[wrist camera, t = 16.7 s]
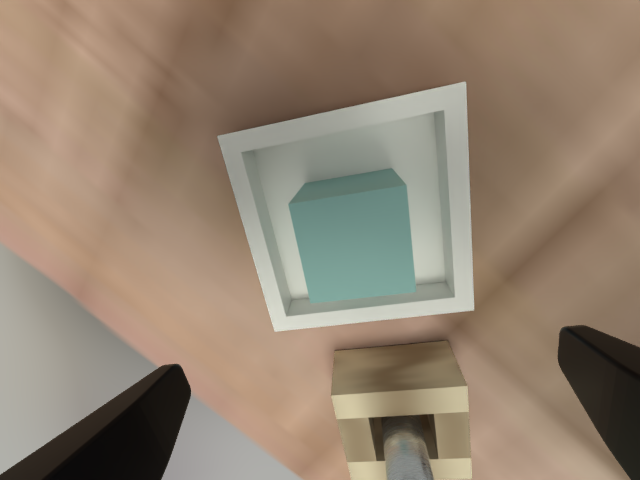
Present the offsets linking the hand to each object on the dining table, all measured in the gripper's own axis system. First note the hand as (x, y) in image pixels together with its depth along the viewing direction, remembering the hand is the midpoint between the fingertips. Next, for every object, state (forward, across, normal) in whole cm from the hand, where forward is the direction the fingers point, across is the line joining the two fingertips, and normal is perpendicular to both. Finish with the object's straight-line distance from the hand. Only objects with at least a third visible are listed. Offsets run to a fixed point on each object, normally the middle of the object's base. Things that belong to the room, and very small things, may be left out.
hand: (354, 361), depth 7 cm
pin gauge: (+12, -1, +14) cm, 19 cm away
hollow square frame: (+12, -1, +14) cm, 19 cm away
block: (+12, 0, 0) cm, 12 cm away
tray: (+12, 0, 0) cm, 12 cm away
